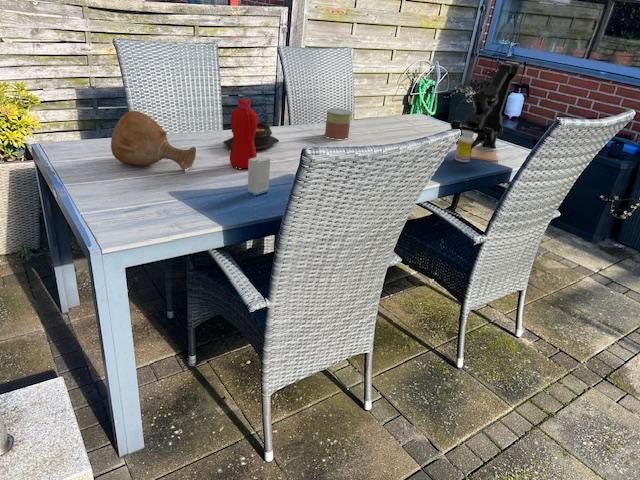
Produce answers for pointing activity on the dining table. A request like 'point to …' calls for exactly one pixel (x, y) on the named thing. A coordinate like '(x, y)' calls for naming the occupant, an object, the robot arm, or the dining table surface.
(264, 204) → the dining table surface
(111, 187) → the dining table surface
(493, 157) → the terracotta tile
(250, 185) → the skincare box
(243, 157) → the water bottle
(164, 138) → the jug
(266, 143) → the black hat
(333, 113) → the canned food
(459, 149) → the supplement bottle
